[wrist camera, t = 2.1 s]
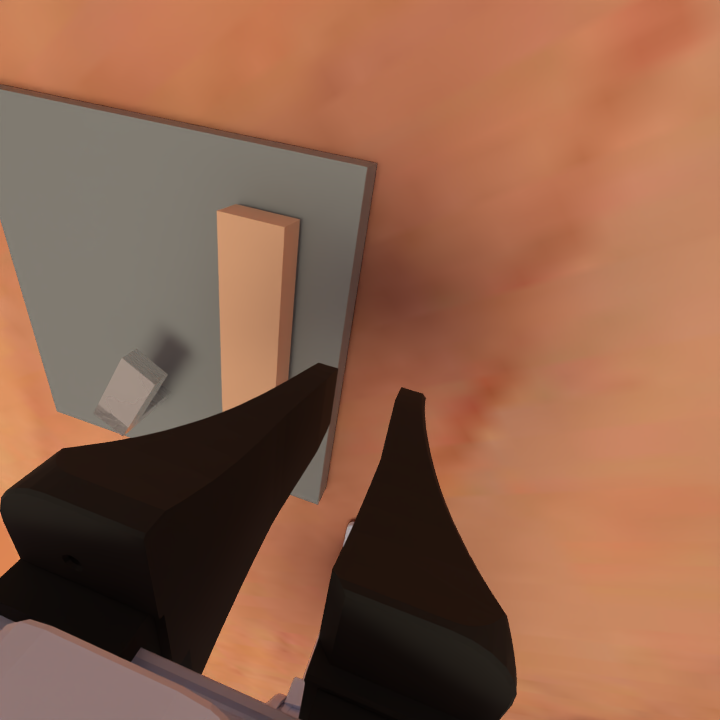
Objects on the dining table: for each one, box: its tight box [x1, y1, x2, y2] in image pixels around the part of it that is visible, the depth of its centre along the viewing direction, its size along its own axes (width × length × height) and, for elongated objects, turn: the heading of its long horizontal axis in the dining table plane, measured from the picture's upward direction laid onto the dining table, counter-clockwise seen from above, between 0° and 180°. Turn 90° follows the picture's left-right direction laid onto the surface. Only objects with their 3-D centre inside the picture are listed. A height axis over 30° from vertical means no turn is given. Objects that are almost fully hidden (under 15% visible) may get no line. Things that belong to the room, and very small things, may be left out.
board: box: [0, 84, 377, 505], centre depth 24 cm, size 20×20×2 cm
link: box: [217, 204, 300, 412], centre depth 21 cm, size 15×4×4 cm, turn 171°
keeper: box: [94, 348, 171, 436], centre depth 24 cm, size 2×5×4 cm, turn 141°
